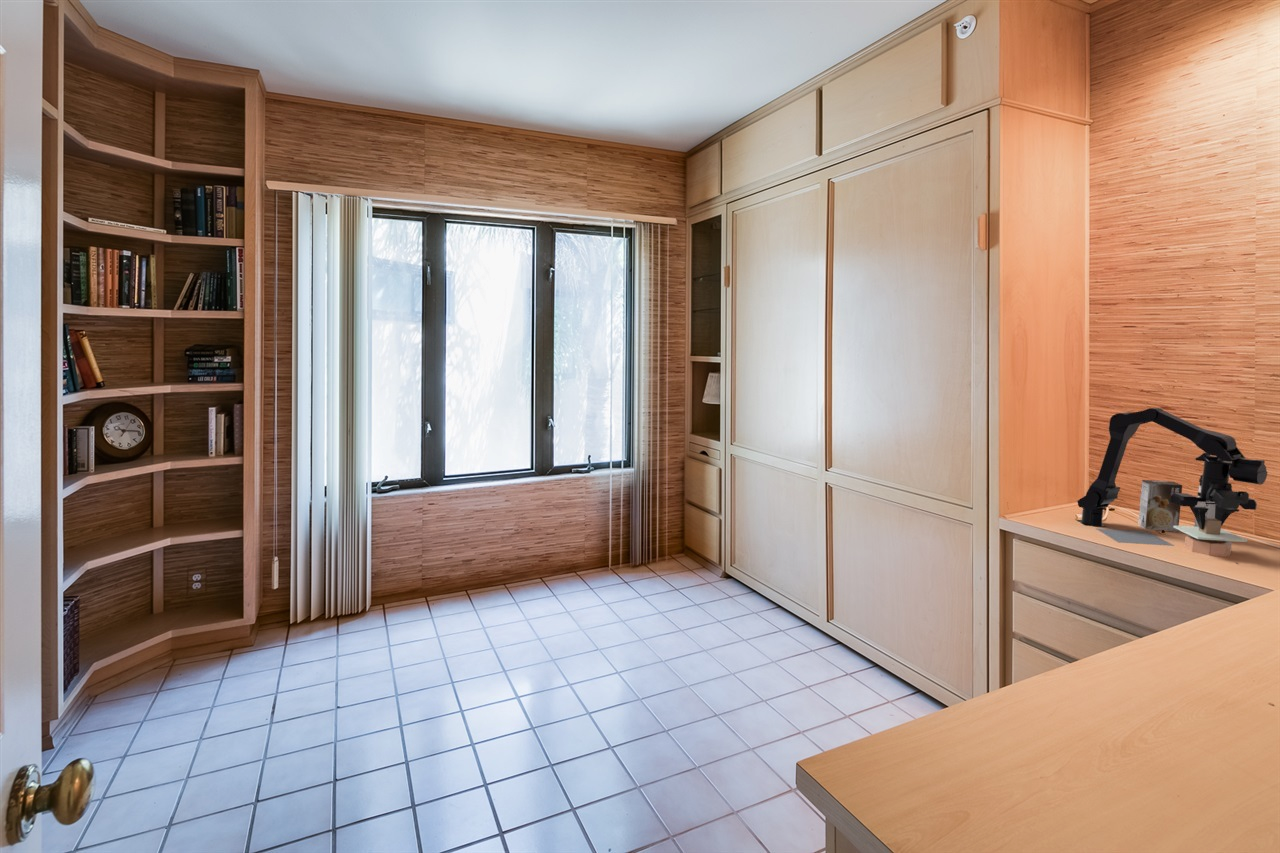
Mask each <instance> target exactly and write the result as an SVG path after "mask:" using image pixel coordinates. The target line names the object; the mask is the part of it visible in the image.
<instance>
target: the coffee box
mask: <svg viewBox="0 0 1280 853" xmlns="http://www.w3.org/2000/svg"><path fill="white" fill-rule="evenodd" d="M1182 492H1183V484H1180V483H1179V482H1177V481H1176V482H1175V481H1169V480H1154V479H1153V480H1151V479H1142V480H1141V491H1140V502H1139V513H1138V523H1137V524H1138V526H1140V527H1142V528H1143V529H1144V530H1151V531H1152V530H1153V531H1162V530H1164V532H1165V531H1166V532H1175V533H1178V532H1179V530H1178V529H1176V528H1174V527H1173V526H1180V516H1181V506H1180V505H1178V504H1175V503H1173V502H1170V500H1171V496H1172V495H1173V494H1174V493H1182Z"/></svg>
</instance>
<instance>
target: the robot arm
mask: <svg viewBox="0 0 1280 853" xmlns="http://www.w3.org/2000/svg"><path fill="white" fill-rule="evenodd" d="M1151 422H1153V423H1155V424H1157V425H1159V426H1161V427H1163V428H1165V429H1167V430H1169V431H1171V432H1173V433H1176V434H1178V435H1179V436H1182V437H1183V438H1185V439H1188V440H1190V441H1191V442H1192V443H1194V445H1195V446H1196V447H1197V448H1198V449H1201V451H1203V453H1202V454H1200V455H1199V456H1197V457H1196V458H1195V459H1194V460H1195V461H1199V462H1204V463H1203V470H1202V474H1203V477H1202V479H1200V478H1199V480H1198V483H1199V484H1200V483H1202V486H1201V492H1199V491H1198V492H1197V496H1195V495H1192V494H1189V493H1184V492H1183V493H1174V494H1173V495H1172V496H1171V500H1170V502H1173V503H1175V504H1178V505H1180V507H1189V508H1190V511H1191V512H1192V514H1193V516H1194V519H1195V518H1196V520H1197V523H1198V525H1199V528H1200V529H1202V530H1203V529H1204V526H1205V514H1206V512H1207V511H1208V508H1205V504H1217V505H1215V519H1217V520H1220V521H1222V522H1221V527H1223V525H1224V523H1225V521H1226V520H1227V519H1228V517H1229V516H1231V514H1233V513H1235V512H1237V513H1238V512H1240V509H1239V508H1240V507H1241V508H1242V509H1243V510H1251V511H1252V510H1253V511H1255V510H1257V506H1258V504H1257V501H1256V500H1255V499H1253V498H1251V497H1250V494H1249V492H1247V491H1234V490H1233V489H1232V488H1233V486H1232V483H1231V482H1229V480H1230V478H1231V479H1232V480H1233V481H1235V482H1240V483H1246V484H1253V485H1260V486H1261V485H1264V483H1265V482H1266V480H1267V477H1268V471H1267V466H1266V465H1265V460H1263V459H1252V458H1250V459H1249V458H1246V457H1245V455H1244V454H1243V453H1242V452H1241V451H1240V449H1239V448H1238V446H1237V441H1236V439H1235V438H1234V437H1233V436H1231V435H1229V434H1225V433H1222V432H1218V431H1214V430H1209V429H1206V428H1202V427H1200V426H1197V425H1195V424H1194V423H1191V422H1189V421H1187V420H1185V419H1183V418H1180V417H1178V416H1176V415H1174V414H1172V413H1169V412H1168V411H1166V410H1164V409H1162V408H1160V407H1152V408H1151V407H1150V408H1147V409H1144V410H1140V411H1136V412H1135V411H1134V412H1131V411H1129V412H1118V413H1114V414H1113V415H1111V417H1110V418H1109V423H1108V424H1109V425H1108V432H1109V436H1110V439H1109V442H1108V444H1107V448H1106V450H1105V451H1106V452H1105V454H1104V458H1103V460H1102V463H1101V466H1100V469H1099V472H1098V475H1097V477H1096V479H1095V480H1094V481H1093V482H1092V483H1091V484H1090V486H1089V488H1088V489H1087V491H1086V492H1085V495H1084V496H1083V497H1081V498H1080V499H1078V500H1077V501H1076V502H1077V505H1078V508H1081V509H1082V510H1081V511H1082V512H1081V519H1080V520H1079V519H1077V520H1076V521H1077V522H1079V523H1080V524H1082V525H1083V526H1085V527H1091V526H1092V527H1104V528H1105V527H1106V528H1107V525H1105V524H1104V523H1103V516H1104V508H1108V507H1109V505H1110V504H1111V503H1113V502H1114V501H1115V500H1116V499H1119V496H1118V495H1119V493H1120V490H1121V487H1120V486H1117V485H1116V477H1117V476H1118V473H1119V469H1120V466H1121V463H1122V460H1123V459H1124V454H1125V451H1126V449H1127V445H1128V443H1129V441H1130V440H1131V438H1132V437H1133V436H1134V435H1135V434H1136V432H1137V431H1138V429H1139V428H1140V426H1141V425H1143V424H1144V425H1145V424H1148V423H1151ZM1198 496H1200V497H1198Z"/></svg>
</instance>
